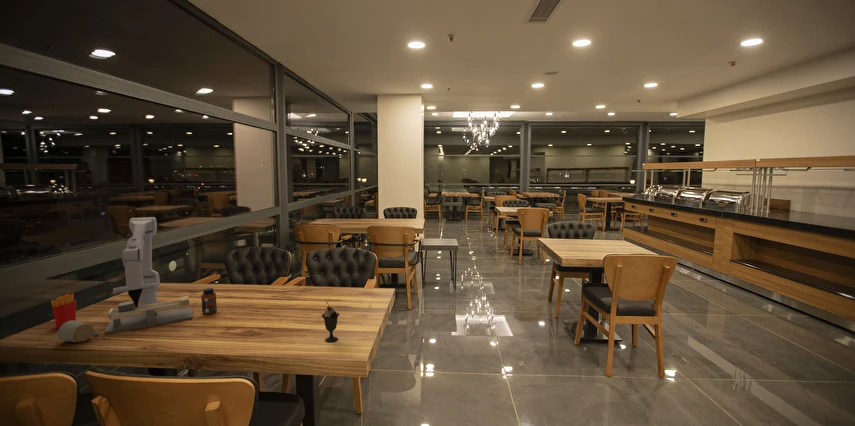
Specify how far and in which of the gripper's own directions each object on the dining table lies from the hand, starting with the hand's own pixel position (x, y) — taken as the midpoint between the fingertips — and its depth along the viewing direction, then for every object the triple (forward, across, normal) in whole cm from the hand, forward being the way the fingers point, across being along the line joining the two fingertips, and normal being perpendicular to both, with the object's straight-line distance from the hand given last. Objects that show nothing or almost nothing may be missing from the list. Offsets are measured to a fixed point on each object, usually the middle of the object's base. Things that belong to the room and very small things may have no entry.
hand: (136, 306), depth 161 cm
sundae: (+8, +66, -61) cm, 90 cm away
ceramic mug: (+8, -17, -8) cm, 20 cm away
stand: (+8, +5, 0) cm, 9 cm away
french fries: (+8, -26, +14) cm, 30 cm away
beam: (+4, +5, 0) cm, 6 cm away
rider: (+2, -3, 0) cm, 4 cm away
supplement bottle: (+8, +27, -2) cm, 28 cm away
